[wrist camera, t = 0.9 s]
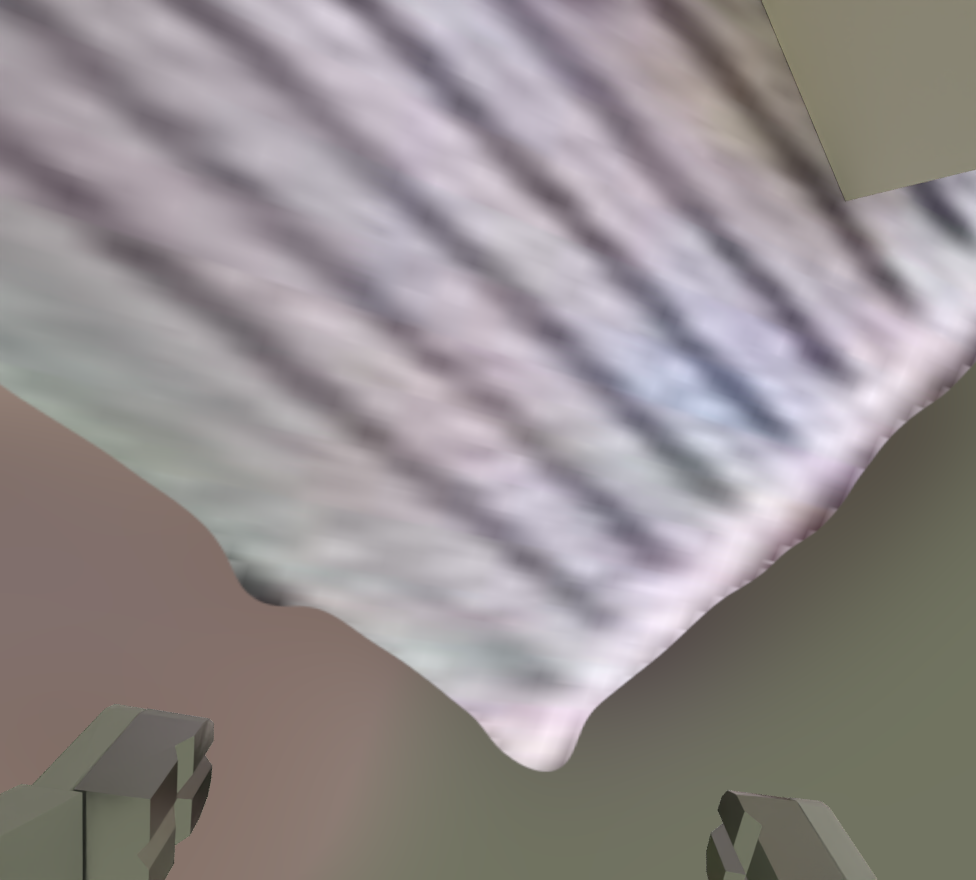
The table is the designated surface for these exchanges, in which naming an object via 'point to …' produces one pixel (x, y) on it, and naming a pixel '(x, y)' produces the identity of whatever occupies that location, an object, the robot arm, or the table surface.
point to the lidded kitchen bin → (885, 86)
